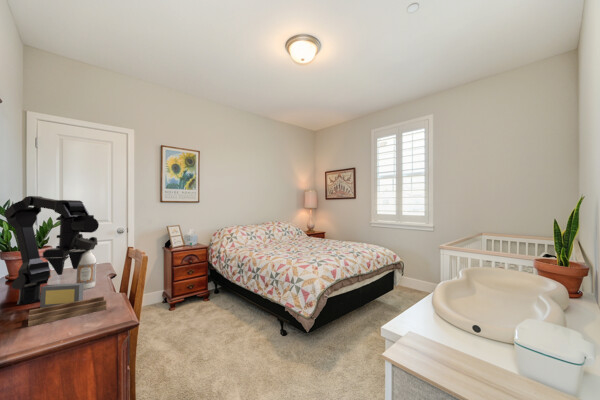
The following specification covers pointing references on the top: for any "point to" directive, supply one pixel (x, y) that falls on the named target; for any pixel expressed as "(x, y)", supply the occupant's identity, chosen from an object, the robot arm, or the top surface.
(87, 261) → the bath foam
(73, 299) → the photo frame
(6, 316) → the top surface
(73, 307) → the picture ledge
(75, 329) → the top surface
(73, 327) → the top surface
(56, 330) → the top surface
